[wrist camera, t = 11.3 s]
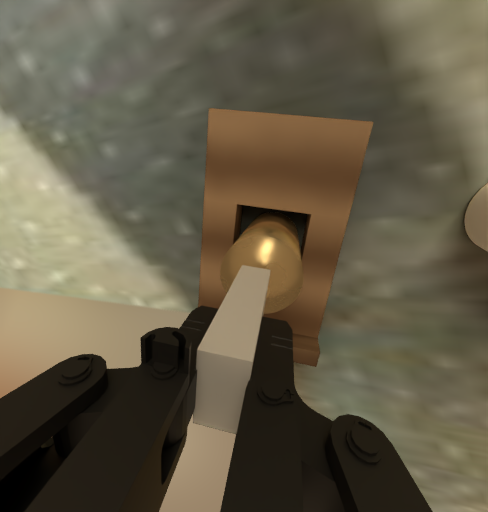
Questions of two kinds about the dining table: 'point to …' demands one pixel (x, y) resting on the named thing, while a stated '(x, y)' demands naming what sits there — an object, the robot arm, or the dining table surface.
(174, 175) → the dining table surface
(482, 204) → the cup
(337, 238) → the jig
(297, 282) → the golden brass cylinder
